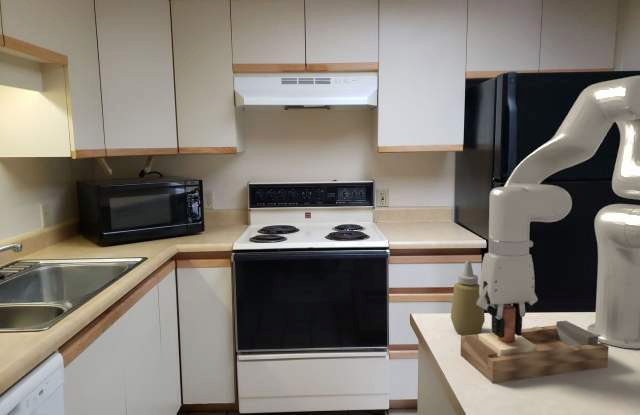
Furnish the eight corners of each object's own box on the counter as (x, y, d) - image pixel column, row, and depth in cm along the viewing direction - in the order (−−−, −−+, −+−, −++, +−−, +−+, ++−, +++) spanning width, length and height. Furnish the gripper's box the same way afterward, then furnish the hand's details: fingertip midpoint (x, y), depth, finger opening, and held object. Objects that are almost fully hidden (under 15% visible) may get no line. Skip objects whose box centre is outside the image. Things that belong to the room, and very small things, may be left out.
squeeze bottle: (487, 339, 101) (488, 266, 99) (452, 337, 103) (452, 265, 101) (481, 326, 109) (482, 257, 107) (449, 324, 111) (449, 257, 109)
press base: (563, 342, 98) (564, 317, 98) (607, 366, 87) (608, 338, 86) (460, 355, 94) (460, 329, 93) (492, 383, 82) (493, 353, 81)
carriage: (511, 344, 93) (512, 299, 92) (536, 360, 86) (537, 312, 85) (478, 348, 92) (478, 302, 91) (500, 365, 84) (501, 316, 83)
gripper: (531, 241, 91) (529, 323, 94) (461, 246, 88) (460, 331, 90) (557, 248, 84) (554, 337, 86) (482, 254, 81) (480, 346, 83)
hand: (506, 333), depth 88 cm, fingers closed on carriage, 3 cm apart
